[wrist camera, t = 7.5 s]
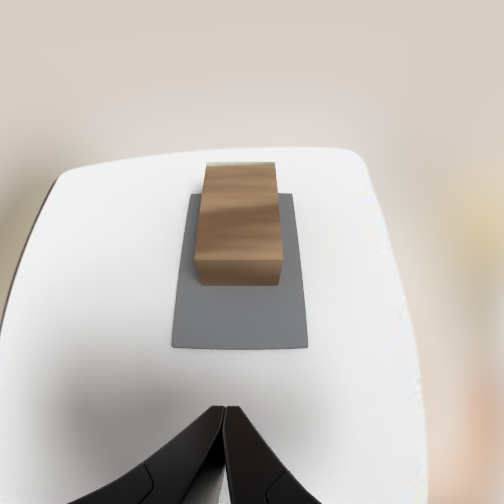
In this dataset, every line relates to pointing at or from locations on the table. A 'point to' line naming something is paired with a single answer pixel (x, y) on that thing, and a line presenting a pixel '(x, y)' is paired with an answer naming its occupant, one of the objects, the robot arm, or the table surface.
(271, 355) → the table surface
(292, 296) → the felt mat
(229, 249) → the walnut block
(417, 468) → the table surface
